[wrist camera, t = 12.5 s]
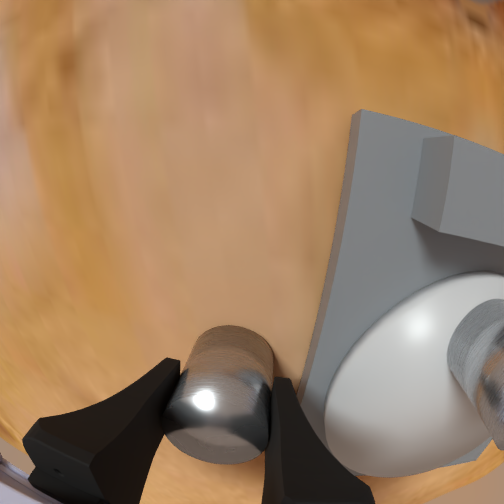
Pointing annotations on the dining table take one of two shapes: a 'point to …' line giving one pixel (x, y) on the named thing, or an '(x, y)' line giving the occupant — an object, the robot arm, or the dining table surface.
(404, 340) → the scale
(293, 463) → the robot arm
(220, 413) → the cylinder
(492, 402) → the cylinder
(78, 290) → the dining table surface
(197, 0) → the dining table surface
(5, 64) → the dining table surface
